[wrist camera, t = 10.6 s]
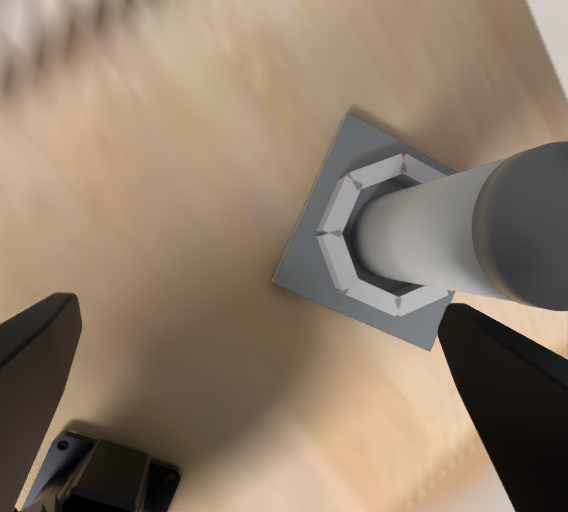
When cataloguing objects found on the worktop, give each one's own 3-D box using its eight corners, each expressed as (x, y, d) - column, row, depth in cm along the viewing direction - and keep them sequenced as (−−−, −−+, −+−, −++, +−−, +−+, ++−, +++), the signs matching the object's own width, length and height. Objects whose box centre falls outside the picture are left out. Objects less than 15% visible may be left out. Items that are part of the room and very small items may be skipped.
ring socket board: (422, 348, 23) (442, 357, 21) (270, 282, 21) (276, 285, 19) (486, 195, 24) (511, 190, 22) (342, 117, 22) (356, 105, 20)
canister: (409, 292, 22) (600, 336, 11) (336, 259, 21) (465, 271, 10) (441, 215, 22) (657, 185, 11) (369, 180, 21) (530, 111, 11)
